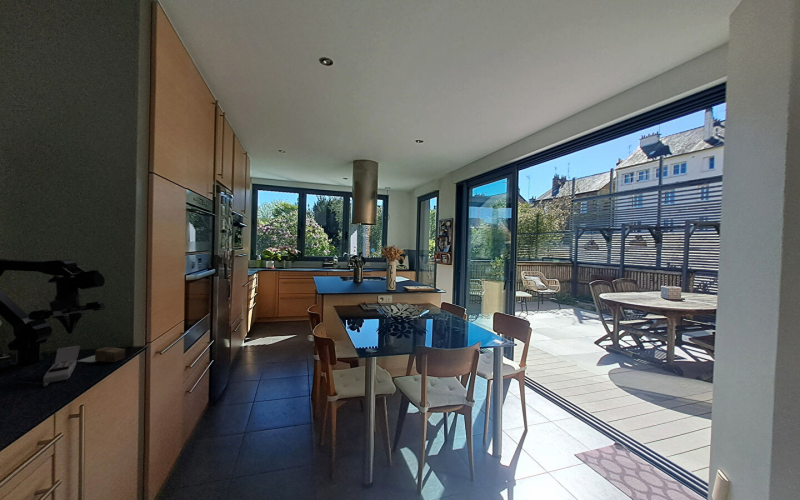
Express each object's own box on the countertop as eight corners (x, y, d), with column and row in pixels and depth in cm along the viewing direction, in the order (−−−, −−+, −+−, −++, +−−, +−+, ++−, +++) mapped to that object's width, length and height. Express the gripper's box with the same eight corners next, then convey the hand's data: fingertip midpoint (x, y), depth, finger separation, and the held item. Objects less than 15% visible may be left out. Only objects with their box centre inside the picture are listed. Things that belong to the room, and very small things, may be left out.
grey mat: (76, 362, 115) (76, 361, 115) (94, 356, 121) (94, 355, 121) (94, 363, 114) (94, 362, 114) (111, 357, 120) (111, 356, 120)
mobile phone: (81, 344, 117) (67, 365, 98) (81, 359, 118) (68, 383, 98) (57, 348, 114) (39, 370, 94) (58, 363, 114) (39, 388, 94)
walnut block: (95, 350, 115) (114, 352, 115) (106, 346, 119) (125, 349, 119) (95, 360, 116) (114, 363, 115) (106, 356, 120) (124, 359, 119)
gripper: (18, 294, 103) (20, 340, 101) (93, 285, 113) (96, 327, 111) (35, 298, 113) (37, 340, 110) (103, 288, 122) (107, 327, 120)
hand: (70, 333), depth 113 cm, fingers closed
